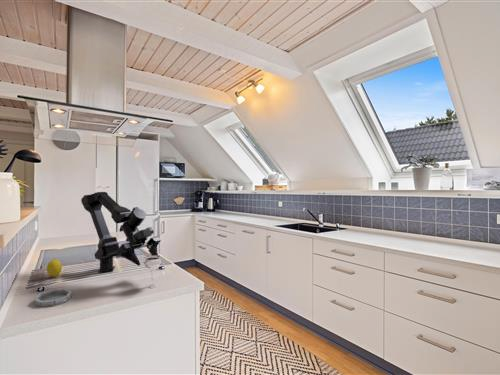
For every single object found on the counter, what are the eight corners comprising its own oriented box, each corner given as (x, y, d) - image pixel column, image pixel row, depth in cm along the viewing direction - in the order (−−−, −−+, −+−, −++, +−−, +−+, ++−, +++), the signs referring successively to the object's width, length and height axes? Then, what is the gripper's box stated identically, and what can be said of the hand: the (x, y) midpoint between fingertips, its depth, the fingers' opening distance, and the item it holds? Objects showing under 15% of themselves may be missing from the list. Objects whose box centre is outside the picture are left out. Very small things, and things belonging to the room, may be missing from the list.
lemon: (51, 274, 128) (51, 257, 127) (64, 274, 128) (64, 257, 128) (43, 279, 122) (43, 261, 122) (57, 279, 123) (57, 261, 122)
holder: (42, 295, 107) (42, 290, 107) (75, 292, 110) (75, 287, 110) (28, 308, 97) (28, 303, 97) (65, 305, 100) (65, 300, 100)
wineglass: (140, 288, 116) (141, 259, 115) (147, 282, 122) (147, 254, 122) (157, 289, 115) (157, 260, 115) (163, 282, 122) (163, 255, 122)
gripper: (120, 224, 114) (138, 256, 108) (158, 219, 130) (175, 246, 124) (109, 241, 118) (125, 272, 113) (146, 233, 134) (162, 260, 129)
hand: (148, 262), depth 120 cm, fingers open, 9 cm apart
